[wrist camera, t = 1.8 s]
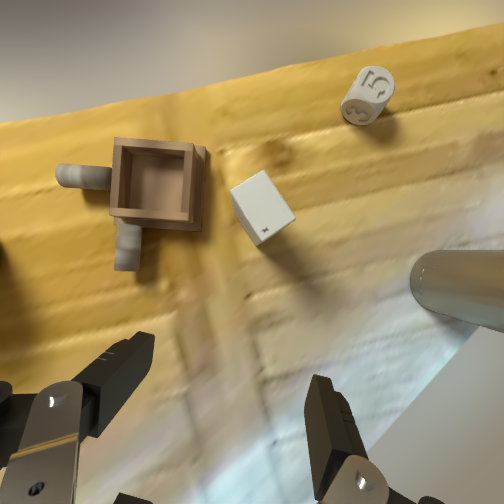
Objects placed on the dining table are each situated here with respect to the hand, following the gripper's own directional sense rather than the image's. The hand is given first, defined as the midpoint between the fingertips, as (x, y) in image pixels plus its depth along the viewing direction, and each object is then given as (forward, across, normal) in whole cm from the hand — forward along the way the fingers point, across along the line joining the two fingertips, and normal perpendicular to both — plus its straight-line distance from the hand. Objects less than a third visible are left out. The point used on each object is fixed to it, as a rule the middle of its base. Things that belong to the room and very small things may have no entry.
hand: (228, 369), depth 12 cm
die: (+30, -9, -24) cm, 40 cm away
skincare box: (+25, +2, -5) cm, 26 cm away
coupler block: (+23, +19, -4) cm, 30 cm away
